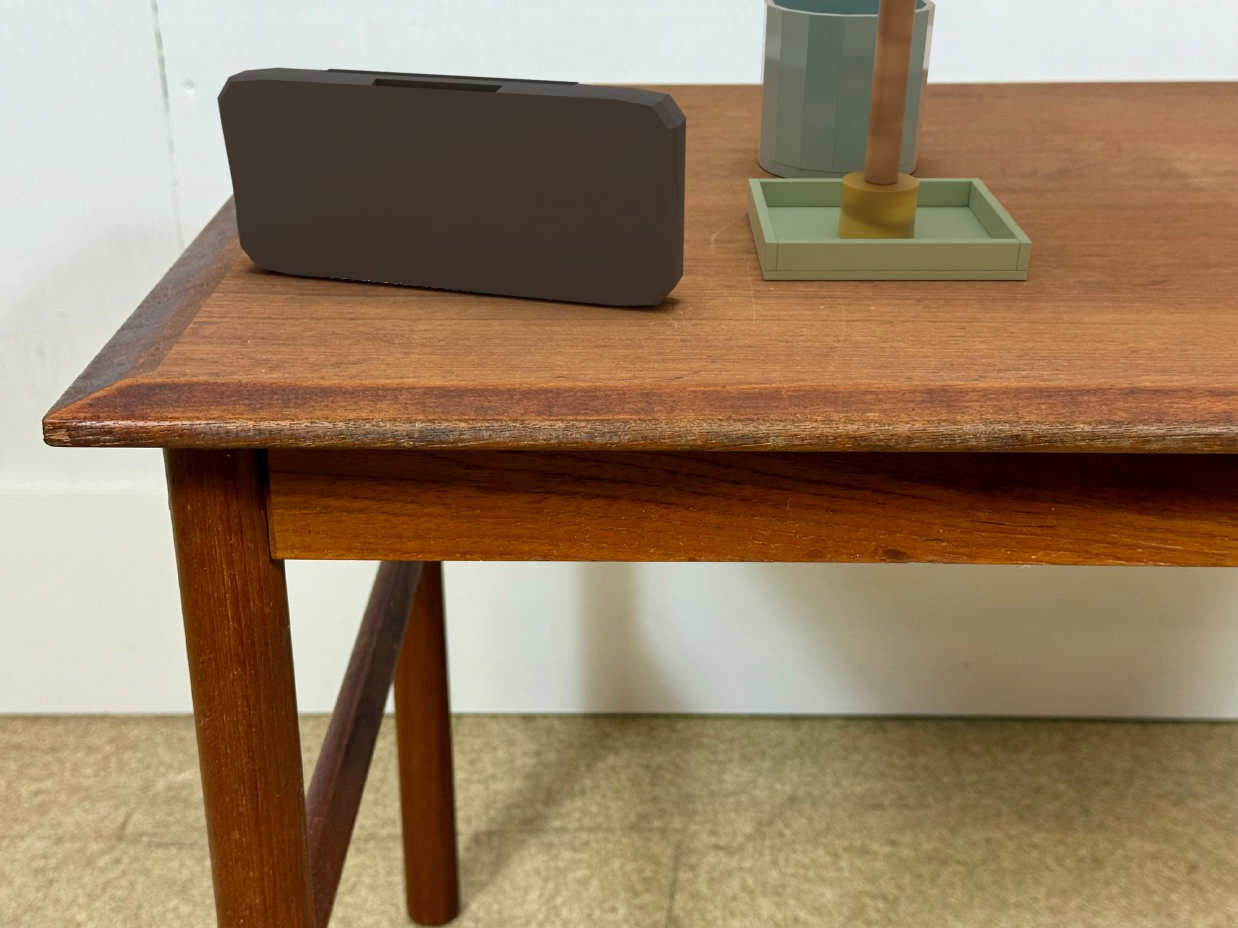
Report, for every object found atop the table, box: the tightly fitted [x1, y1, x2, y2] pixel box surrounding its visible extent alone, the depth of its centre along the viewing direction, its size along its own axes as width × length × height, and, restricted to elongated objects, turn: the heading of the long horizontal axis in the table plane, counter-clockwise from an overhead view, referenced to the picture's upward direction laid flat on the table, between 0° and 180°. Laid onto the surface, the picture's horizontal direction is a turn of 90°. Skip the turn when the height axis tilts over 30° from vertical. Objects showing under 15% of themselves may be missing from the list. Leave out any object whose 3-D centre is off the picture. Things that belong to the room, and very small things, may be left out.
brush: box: [838, 0, 919, 239], centre depth 64 cm, size 4×4×18 cm
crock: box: [757, 0, 936, 179], centre depth 80 cm, size 10×10×10 cm
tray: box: [746, 177, 1033, 281], centre depth 68 cm, size 13×11×2 cm
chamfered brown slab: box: [216, 67, 687, 307], centre depth 61 cm, size 23×3×10 cm, turn 75°
